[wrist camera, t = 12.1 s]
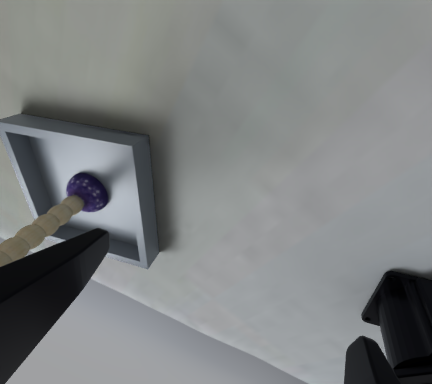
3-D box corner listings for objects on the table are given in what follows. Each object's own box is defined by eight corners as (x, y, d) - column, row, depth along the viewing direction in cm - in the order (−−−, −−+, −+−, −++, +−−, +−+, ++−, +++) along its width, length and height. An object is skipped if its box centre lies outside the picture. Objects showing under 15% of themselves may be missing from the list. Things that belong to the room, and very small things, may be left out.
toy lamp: (91, 163, 25) (-170, 325, 12) (122, 202, 26) (-77, 387, 13) (64, 181, 27) (-178, 332, 14) (94, 216, 29) (-100, 384, 15)
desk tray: (159, 252, 30) (147, 269, 28) (58, 224, 33) (41, 237, 31) (148, 135, 22) (132, 146, 20) (20, 113, 25) (-6, 121, 23)
